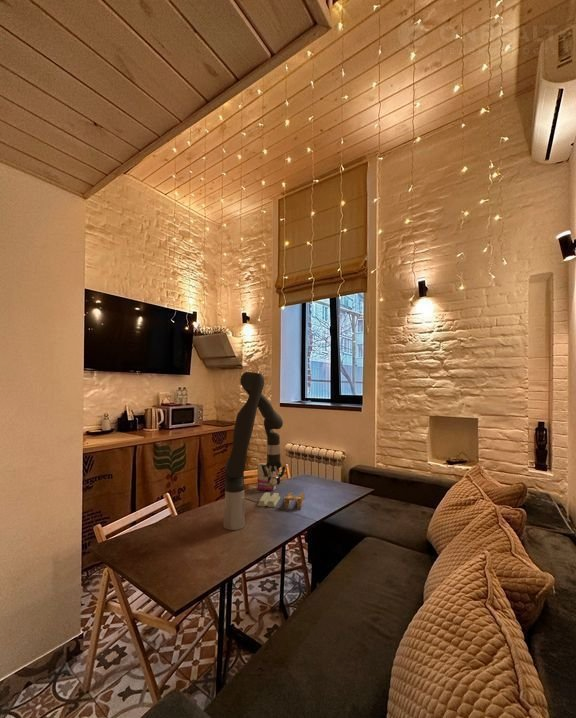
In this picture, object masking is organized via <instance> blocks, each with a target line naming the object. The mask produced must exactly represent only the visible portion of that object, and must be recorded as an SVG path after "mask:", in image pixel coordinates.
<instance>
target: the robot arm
mask: <svg viewBox="0 0 576 718" xmlns="http://www.w3.org/2000/svg"><path fill="white" fill-rule="evenodd" d="M240 385H241V388H243V390H244V391H245V392H246V393H247V395H248V397H247V400H246V402H245V403H244V405H243V406H242V407H241V408H240V409H239V411H238V412H237V415H236V417H235V422H234V426H233V436H232V437H233V438H232V439H233V440H232V448H231V451H230V455H229V457H227V459H226V460H225V464H224V465H225V466H224V478H225V479H224V483H225V484H224V485H225V488H224V489H225V490H224V491H225V496H224V502H225V503H224V505H225V506H223V529H226V530H228V531H229V530H230V531H237V530H238V531H239V530H240V529H243V528H244V527H245V477H244V476H245V474H244V473H245V470H246V464H247V463H246V462H247V454H248V448H249V445H250V441H251V437H252V434H253V430H254V426H255V421H256V414H257V411H259V412H260V414H261V416H262V417H263V418H264V420H263V427H264V430H265V434H266V444H267V445H266V463H267V464H265V465H262V469H263V473H264V476H267V477H268V483H269V481H270V479H271V473H272V472H273V471H274V472H276V474H277V484H276V486H279V485H280V484H281V479H280V477H282V478H283V477H284V476H285V472H286V468H287V465H285V464H284V465H283V464H282V462H281V459H282V458H281V439H280V438H281V437H280V434H279V433H278V432H275V431H274V430H280V429H282V428H283V424H284V423H283V422H284V421H283V418H282V417H281V416H280V414H278V412H277V411H276V410H274V407H273V405H272V404H271V401H270V400H269V399H268V398H267V397H266V396H265V395H264V394H263V390H264V387H265V376H264V375H263V374H262V373H260V372H259V373H258V372H253V371H245V372H243V373H242V374H241V377H240ZM266 466H267V467H268V469H269V471H268V473H267V470H266ZM280 468H281V471H280ZM280 472H281V474H280Z"/></svg>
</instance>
